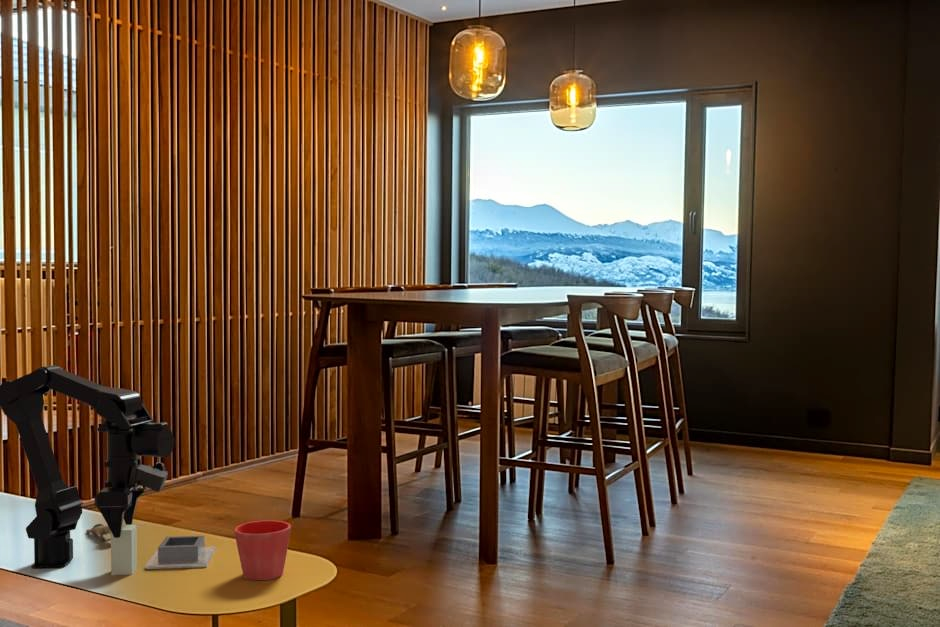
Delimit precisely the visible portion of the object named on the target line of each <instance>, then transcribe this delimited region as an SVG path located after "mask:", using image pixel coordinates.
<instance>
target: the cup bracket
mask: <svg viewBox="0 0 940 627" xmlns="http://www.w3.org/2000/svg"><path fill="white" fill-rule="evenodd" d="M216 549H217V548H216V546H205V535H183V536H182V535H177V536H165V537H164V539H163V540H162V541H161V543H160V544H159V546H158V547H157V549H156V551H155V552H154V554H152V556H151V558H150V559H149V560H148V561H147V563H146V565H145V570H158V569H159V570H162V569H163V570H164V569H188V568H189V569H192V568H193V569H195V568H196V569H197V568H208V565H209V564H210V561H211V559H212V558H213V556H214V553H215V551H216Z"/></svg>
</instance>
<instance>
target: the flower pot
mask: <svg viewBox="0 0 940 627" xmlns="http://www.w3.org/2000/svg"><path fill="white" fill-rule="evenodd" d="M291 526H292V525H291V524H290V523H289V522H285V521H282V520H270V519H269V520H268V519H267V520H255V521H249V522H244V523H242V524H239V525H238V526H236V527H235V528H234V536H235V542H236V547H237V551H238V557H239V561H240V566H241V571H242V574H243V578H245V579H248V580H251V581H258V580H259V581H268V580H273V579H277V578H279V577H281V576H282V575H283V574H284V570H285V565H286V558H287V554H288V548H289V543H290V542H289V541H290V536H291V535H290V534H291V529H292V528H291Z"/></svg>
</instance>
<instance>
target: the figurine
mask: <svg viewBox="0 0 940 627" xmlns="http://www.w3.org/2000/svg"><path fill="white" fill-rule="evenodd" d="M86 532H87V533H86ZM85 533H86V534H91V533H96V534H97V535H99V536H100V541H101V542H104V541H105V539H104V536H105V535H106V536H107V535H111V530H110V528H109V526H108V525H104V524H102V523H98V524H95V525H93V527H92V528H90V529H86V531H85Z"/></svg>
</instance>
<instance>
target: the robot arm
mask: <svg viewBox="0 0 940 627" xmlns="http://www.w3.org/2000/svg"><path fill="white" fill-rule="evenodd" d="M52 390H53V391H54V392H56V393H60V394H61V395H64V396H67V397H70V398H72V399H74V400H76V401H79V402H81V403H83V404H85V405H88V406H89V407H91V408H92V409H93V410H94V412H95V413H96V415H99V417H101V418H103V419H104V422H103V423H102V424H101V425H100V426H98V427H97V429H96V430H97V432H103V433H106V437H107V438H106V441H107V443H106V444H107V446H106V452H107V454H106V455H107V459H106V460H105V461H104V468H106V469H107V471H106V472H107V480H106V481H105V482H104V488H102V489H101V490H99V491H98V493H97V494H96V495H94V498H93V499H94V507H95V508H96V509H97V511H98V510H99V512H100V514H101V515H102V517H103V519H104V521H105V522H106V524H107V525H108V526H109V528H110V530H111V532H112V534H113V536H114V538H119V537H120V536H121V531H122V525H133V521H134V517H135V513H136V512H135V511H136V508H137V504H138V501H139V497H141V495H142V494H143V493H145V491H147V489H151V491H153V492H158V493H159V492H161V490H162V489H163V488H164V485H165V483H166V480H167V478H168V474H169V473H168V472H169V471H166V467H165V463H163V462H160V461H157V462H156V463H154V464H153V466H151V465H149V464H148V465H145V464H142V462H143V460H142V458H141V457H155V458H168V457H169V456H170V455H171V454H172V452H173V450H174V448H175V440H176V439H175V437H174V434H173V432H172V430H171V429H169V424H168V422H164V421H162V422H155V420H154V419H153V417H152V416H151V414H150V412H149V411H148V410H147V408H146V406H145V405H144V403H143V400H142V399H141V398H142V397H141V394H140V393H138V392H137V391H136V390H132V389H126V388H120V387H109V386H105V385H102V384H99V383H97V382H94V381H91V380H90V379H87V378H85V377H82V376H80V375H77V374H75V373H72V372H70V371H67V370H65V369H63V368H62V367H61V366H58V365H55V364H54V365H47V366H40V367H38V368H36V369H35V370H33V371H32V372H30V373H27V374H25V375H23V376H20V377H18V378H16V379H14V380H8V381H4V382H2V383H1V384H0V409H1V411H2V413H3V414H4V415H5V417H7V418H8V419H9V420H10V421H11V422H12V423H14V424H15V426H16V428H17V432H18V435H19V438H20V442H21V444H22V446H23V450H24V452H25V456H26V459H27V461H28V465H29V467H30V471H31V473H32V477H33V480H34V482H35V486H36V489H37V493H36V499H35V502H34V509H35V515H36V517H35V518H33V520H32V521H31V522H29V524H28V525H27V526H26V527H25V532H26V534H27V538H28V539H31V540H32V539H33V543H34V544H33V550H34V551H33V552H34V554H33V555H34V557H33V558H34V562H33V563H32V564H31V569H32V568H33V569H36V568H37V569H39V568H41V569H43V568H63V567H66V565H68V564H69V563H70V562H71V561H72V560H73V559H74V540H73V538H71V531H74V530H76V528H77V525H78V521H80V518H81V515H82V514H83V507H82V505H84V502H83V501H82V500H81V497H80V492H79V489H78V487H77V486H75V485H74V486H71V487H70V486H69V485H68V484H66V483H65V482H64V480H63V478H62V475H61V471H60V468H59V466H58V463H57V460H56V457H55V454H54V451H53V449H52V445H51V442H50V439H49V435H48V433H47V430H46V427H45V425H44V420H43V418H42V414H43V412H44V405H45V399H44V395H45V394H47V393H50V391H52ZM140 486H141V487H140ZM107 525H106V526H107Z"/></svg>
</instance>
